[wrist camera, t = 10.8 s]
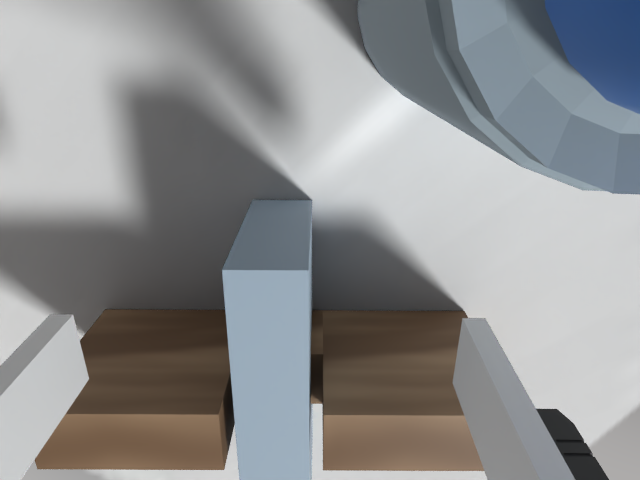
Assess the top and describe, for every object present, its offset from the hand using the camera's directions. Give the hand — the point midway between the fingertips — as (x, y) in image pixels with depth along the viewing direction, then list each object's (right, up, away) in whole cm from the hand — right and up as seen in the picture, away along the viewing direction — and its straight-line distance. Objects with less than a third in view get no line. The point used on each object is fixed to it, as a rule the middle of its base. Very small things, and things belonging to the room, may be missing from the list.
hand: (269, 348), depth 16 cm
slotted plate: (0, -2, +11) cm, 11 cm away
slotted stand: (0, -2, +11) cm, 11 cm away
